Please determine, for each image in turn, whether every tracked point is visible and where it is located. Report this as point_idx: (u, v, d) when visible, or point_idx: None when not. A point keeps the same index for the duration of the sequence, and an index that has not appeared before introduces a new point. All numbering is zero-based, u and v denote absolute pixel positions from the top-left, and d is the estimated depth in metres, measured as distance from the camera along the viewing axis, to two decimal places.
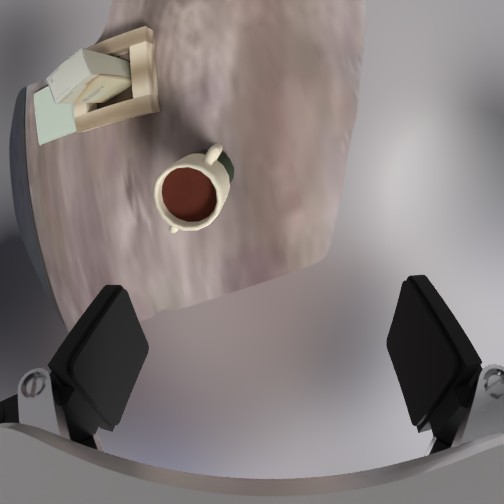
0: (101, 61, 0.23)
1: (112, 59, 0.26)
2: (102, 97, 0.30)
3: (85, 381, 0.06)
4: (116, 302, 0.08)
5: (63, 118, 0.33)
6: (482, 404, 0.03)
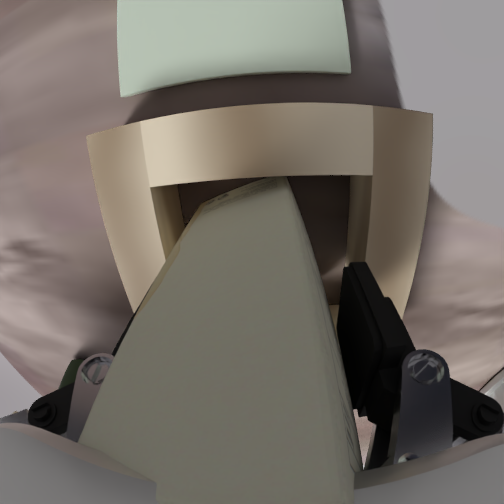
0: None
1: None
2: None
3: None
4: None
5: (177, 23, 0.08)
6: (413, 395, 0.04)
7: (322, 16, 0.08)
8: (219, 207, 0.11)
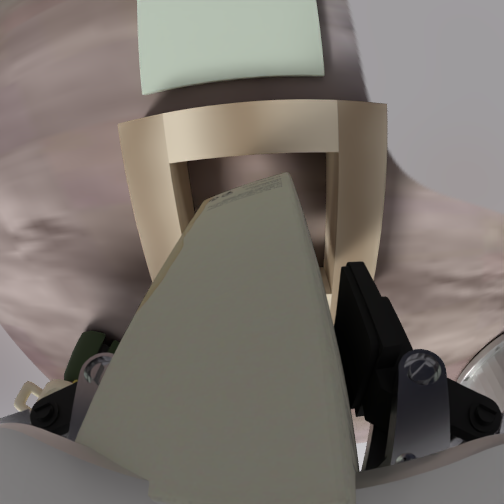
0: None
1: None
2: None
3: None
4: None
5: (188, 37, 0.11)
6: (409, 395, 0.04)
7: (302, 30, 0.11)
8: (223, 204, 0.11)
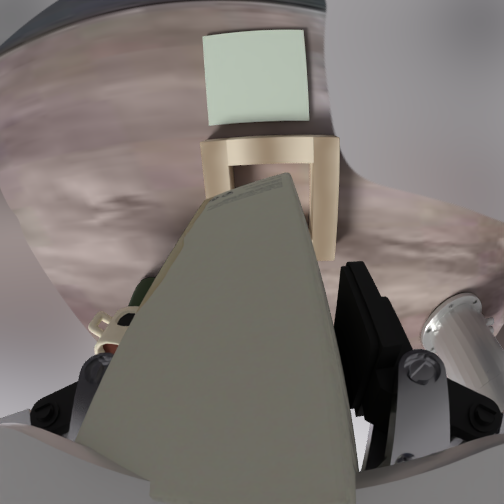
0: None
1: None
2: None
3: None
4: None
5: (236, 95, 0.24)
6: (409, 395, 0.04)
7: (298, 94, 0.24)
8: (223, 204, 0.11)
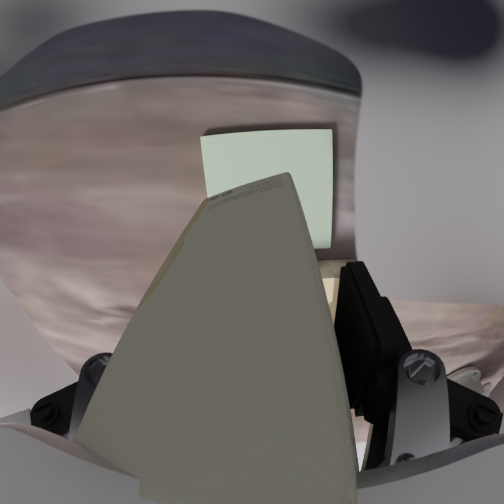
0: None
1: None
2: None
3: None
4: None
5: None
6: (409, 395, 0.04)
7: (320, 219, 0.23)
8: (223, 203, 0.11)
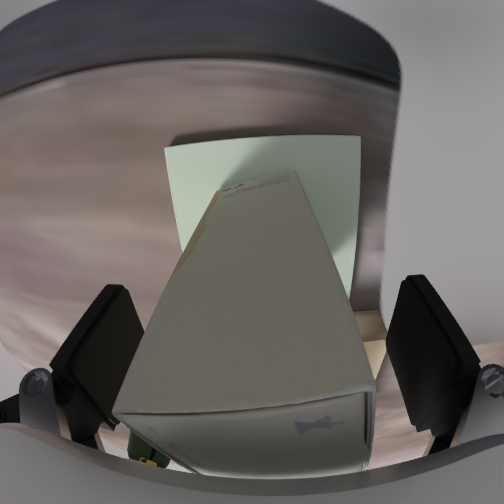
0: None
1: None
2: None
3: (86, 381, 0.06)
4: (117, 302, 0.08)
5: None
6: (481, 404, 0.04)
7: (338, 264, 0.16)
8: (237, 194, 0.12)
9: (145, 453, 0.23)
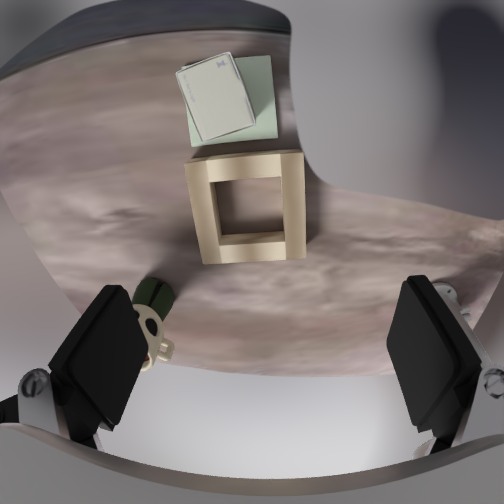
0: None
1: None
2: None
3: (85, 381, 0.06)
4: (116, 302, 0.08)
5: None
6: (482, 404, 0.03)
7: (267, 115, 0.29)
8: None
9: (144, 302, 0.36)
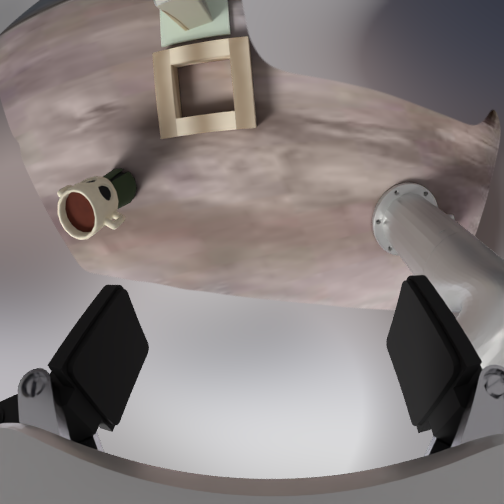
0: (186, 7, 0.21)
1: (199, 12, 0.24)
2: None
3: (85, 381, 0.06)
4: (116, 302, 0.08)
5: None
6: (482, 404, 0.03)
7: (221, 19, 0.28)
8: None
9: None
